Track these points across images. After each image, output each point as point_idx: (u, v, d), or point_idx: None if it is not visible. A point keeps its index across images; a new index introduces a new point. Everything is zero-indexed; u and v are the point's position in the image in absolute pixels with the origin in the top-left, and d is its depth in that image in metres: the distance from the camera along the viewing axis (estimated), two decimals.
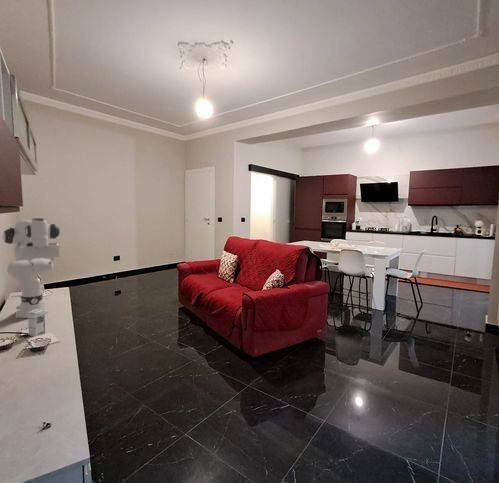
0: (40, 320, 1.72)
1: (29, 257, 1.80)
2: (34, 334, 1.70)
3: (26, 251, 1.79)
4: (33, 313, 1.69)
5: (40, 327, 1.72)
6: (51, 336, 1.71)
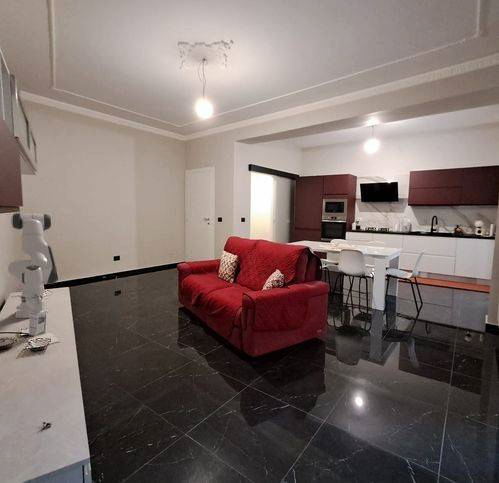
0: (41, 320, 1.72)
1: (27, 304, 1.78)
2: (34, 334, 1.70)
3: (26, 298, 1.78)
4: (35, 313, 1.69)
5: (41, 327, 1.72)
6: (51, 336, 1.71)
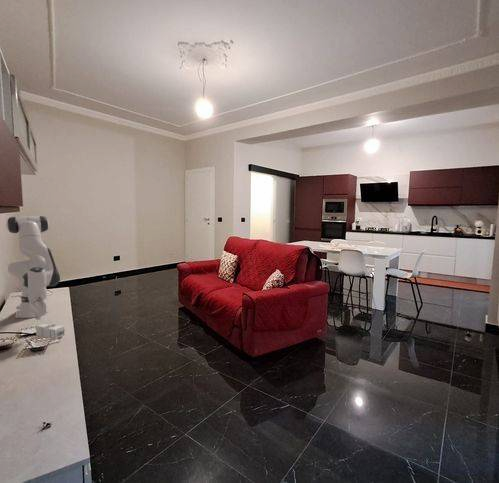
0: None
1: (31, 308, 1.72)
2: (37, 333, 1.70)
3: (30, 301, 1.73)
4: (55, 336, 1.67)
5: None
6: None
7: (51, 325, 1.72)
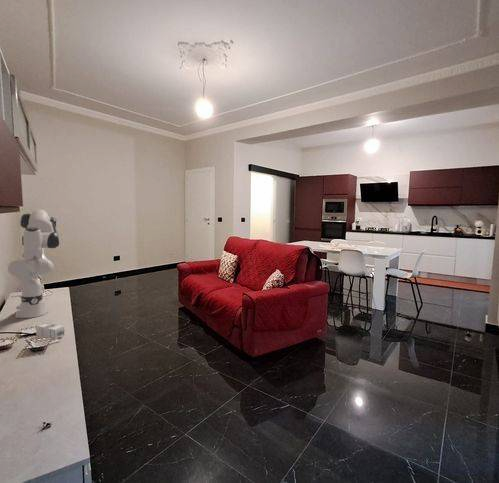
0: None
1: (27, 268, 1.75)
2: (37, 333, 1.70)
3: (26, 261, 1.76)
4: (55, 336, 1.67)
5: None
6: None
7: (51, 325, 1.72)
